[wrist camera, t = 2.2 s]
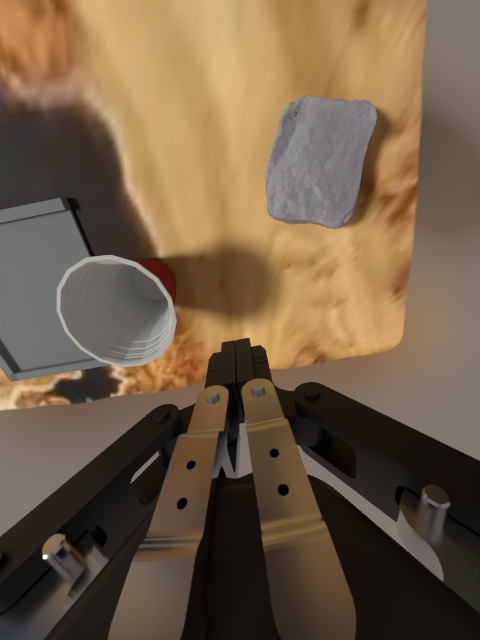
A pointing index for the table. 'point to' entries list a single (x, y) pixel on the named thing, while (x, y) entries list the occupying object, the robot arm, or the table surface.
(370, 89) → the table surface
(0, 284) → the grey tray
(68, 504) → the robot arm
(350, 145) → the stone block
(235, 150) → the table surface
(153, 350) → the plastic cup
